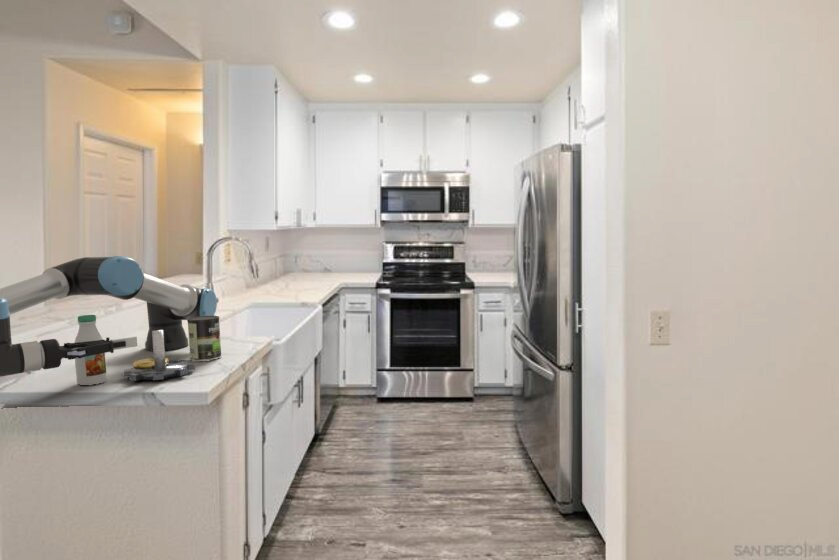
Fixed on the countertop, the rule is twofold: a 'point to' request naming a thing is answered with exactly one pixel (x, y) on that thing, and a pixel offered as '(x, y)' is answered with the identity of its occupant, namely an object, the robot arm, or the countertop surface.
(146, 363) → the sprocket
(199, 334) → the coffee can
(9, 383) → the countertop surface
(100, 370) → the milk bottle
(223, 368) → the countertop surface
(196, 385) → the countertop surface
